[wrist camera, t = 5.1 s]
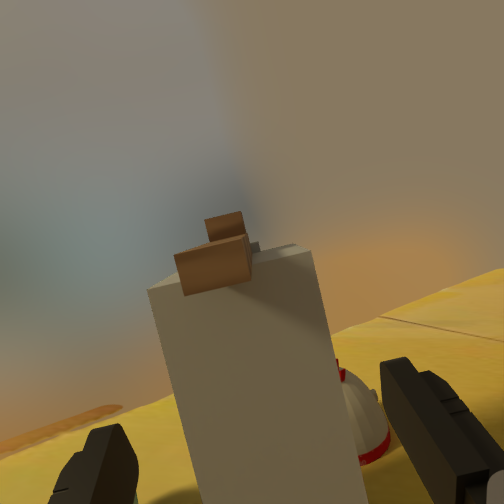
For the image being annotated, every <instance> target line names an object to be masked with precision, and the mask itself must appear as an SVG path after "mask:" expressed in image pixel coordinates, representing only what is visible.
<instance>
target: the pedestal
mask: <svg viewBox="0 0 504 504" xmlns="http://www.w3.org/2000/svg"><path fill="white" fill-rule="evenodd" d="M250 246H251V250H252V275H251V281H248V282H244V283H240V284H236V285H231V286H227V287H223V288H219V289H214V290H210V291H206V292H202V293H198V294H193V295H189V296H185V297H184V294H183V290H182V286H181V282H180V278H179V274H178V272H176V273H174V274H173V275H171V276H169V277H167V278H166V279H164V280H162V281H161V282H159V283H157V284H156V285H154V286H152V287H151V288H149V289H147V292H148V296H149V300H150V303H151V308H152V311H153V315H154V319H155V323H156V327H157V330H158V334H159V338H160V342H161V346H162V349H163V354H164V357H165V361H166V365H167V369H168V373H169V376H170V380H171V384H172V388H173V392H174V396H175V399H176V403H177V407H178V411H179V415H180V419H181V422H182V426H183V430H184V434H185V438H186V442H187V445H188V449H189V453H190V457H191V461H192V464H193V468H194V472H195V476H196V480H197V484H198V487H199V491H200V495H201V499H202V503H203V504H369V503H368V498H367V494H366V490H365V485H364V481H363V476H362V472H361V468H360V463H359V459H358V455H357V450H356V446H355V441H354V437H353V433H352V428H351V424H350V420H349V415H348V411H347V406H346V402H345V398H344V393H343V389H342V385H341V380H340V376H339V371H338V367H337V363H336V358H335V354H334V350H333V345H332V341H331V336H330V332H329V328H328V323H327V319H326V315H325V310H324V306H323V301H322V297H321V293H320V288H319V284H318V280H317V275H316V271H315V266H314V262H313V258H312V253H311V250H308V249H306V248H303V247H301V246H298V245H296V244H289V245H285V246H281V247H277V248H272V249H269V250H264V251H260V247H259V242H254V243H250Z"/></svg>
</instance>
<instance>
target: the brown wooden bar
mask: <svg viewBox="0 0 504 504" xmlns="http://www.w3.org/2000/svg"><path fill="white" fill-rule="evenodd" d="M204 221H205V224H206V229H207V232H208V237H209V241H210V242H209V243H206V244H204V245H201V246H198V247H195V248H192V249H189V250H186V251H183V252H180V253H178V254H175V255H174V259H175V262H176V266H177V270H178V274H179V278H180V282H181V286H182V290H183V294H184V297H185V296H189V295H193V294H198V293H202V292H206V291H210V290H214V289H219V288H223V287H227V286H231V285H236V284H240V283H244V282H248V281H251V275H252V250H251V246H250V242H249V238H248V234H247V233H246V229H245V225H244V221H243V217H242V213H241V211H238V212H234V213H230V214H226V215H222V216H218V217H213V218H209V219H205V220H204Z"/></svg>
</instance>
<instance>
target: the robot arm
mask: <svg viewBox="0 0 504 504" xmlns="http://www.w3.org/2000/svg"><path fill="white" fill-rule="evenodd" d="M380 377H381V391H382V401H383V405H384V409H385V412H386V414H387V417H388V419H389V421H390V423H391V425H392V427H393V428H394V430H395V432H396V434H397V436H398V438H399V439H400V441H401V443H402V445H403V447H404V449H405V450H406V452H407V454H408V456H409V458H410V460H411V462H412V463H413V465H414V467H415V469H416V471H417V473H418V474H419V476H420V478H421V480H422V482H423V484H424V486H425V487H426V489H427V491H428V493H429V495H430V497H431V498H432V500H433V502H434V504H504V451H503V450H502V449H501V448H500V446H499V445H498V444H497V443H496V441H495V440H494V439H493V438H492V437H491V435H490V434H489V433H488V432H487V430H486V429H485V428H484V427H483V426H482V424H481V423H480V422H479V421H478V419H477V418H476V417H475V416H474V415H473V413H472V412H470V411H469V408H468V407H467V406H466V405H465V404H464V402H463V401H462V400H460V399H459V396H458V395H457V394H456V393H455V391H454V390H453V389H452V388H451V386H450V385H449V384H448V383H447V382H446V381H445V380H443V379H442V378H440V377H439V376H437V375H436V374H434V373H433V372H431V371H429V370H428V371H424V372H419V373H418V371H417V370H416V368H415V367H414V366H413V364H412V363H411V362H410V360H409V359H408V358H407V357H401V358H396V359H392V360H388V361H383V362H381V363H380ZM138 477H139V465H138V460H137V456H136V454H135V452H134V450H133V448H132V446H131V444H130V442H129V440H128V438H127V436H126V434H125V432H124V430H123V428H122V426H121V425H120V424H118V423H117V424H113V425H108V426H104V427H100V428H95V429H92V430H91V431H90V433H89V435H88V437H87V440H86V443H85V446H84V448H83V451H80V452H76V453H74V455H73V456H72V457H71V459H70V460H69V461H68V463H67V464H66V465H65V467H64V468H63V469H62V471H61V472H60V475H59V477H58V480H57V482H56V485H55V487H54V490H53V495H51V497H50V499H49V502H48V504H133V503H134V498H135V493H136V488H137V483H138Z"/></svg>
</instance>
